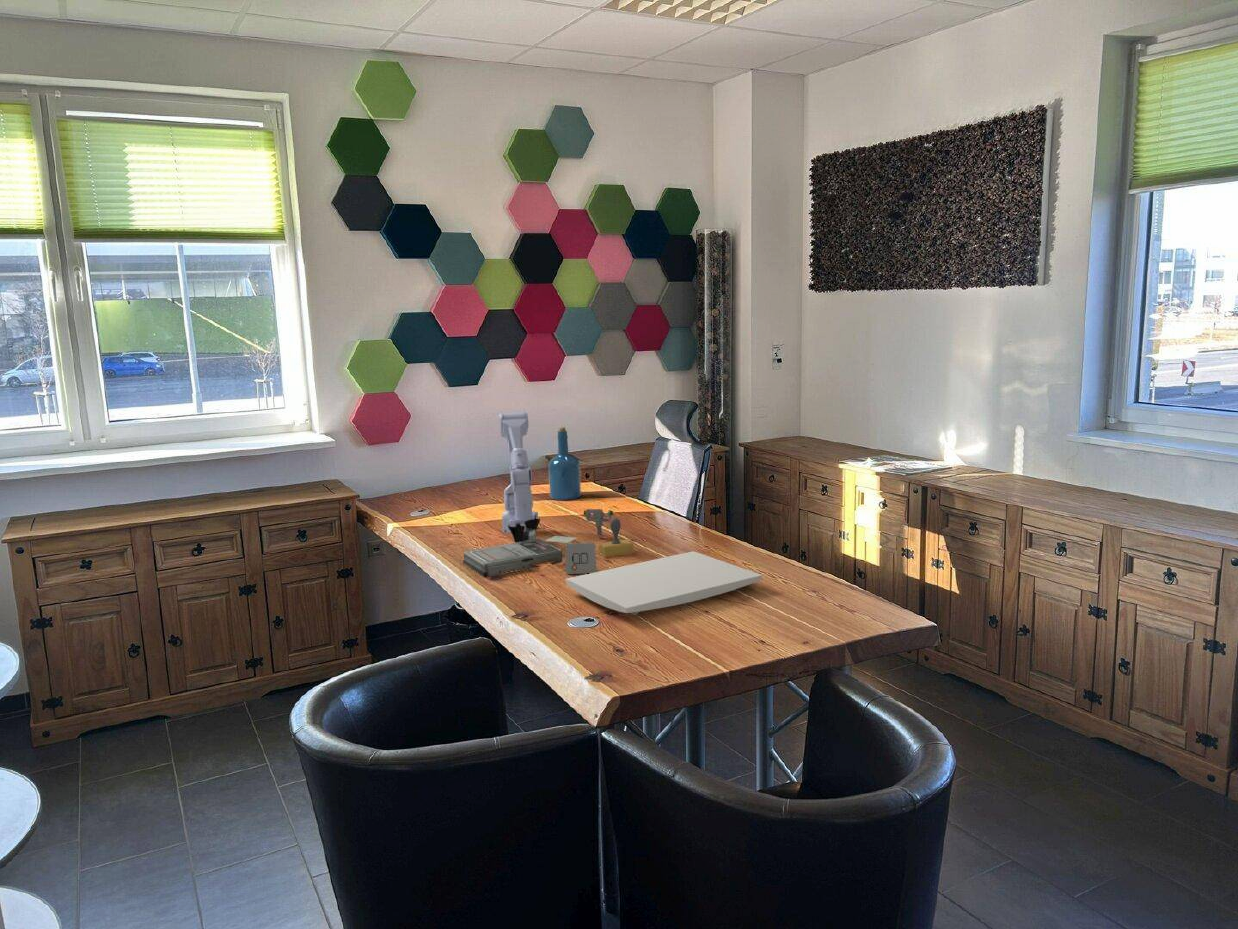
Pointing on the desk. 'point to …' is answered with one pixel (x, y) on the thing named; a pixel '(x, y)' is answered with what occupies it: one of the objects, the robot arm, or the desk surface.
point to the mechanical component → (598, 517)
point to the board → (661, 582)
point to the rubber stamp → (616, 543)
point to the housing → (529, 534)
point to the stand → (561, 539)
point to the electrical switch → (580, 558)
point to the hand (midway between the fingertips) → (525, 542)
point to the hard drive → (511, 557)
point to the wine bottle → (564, 471)
